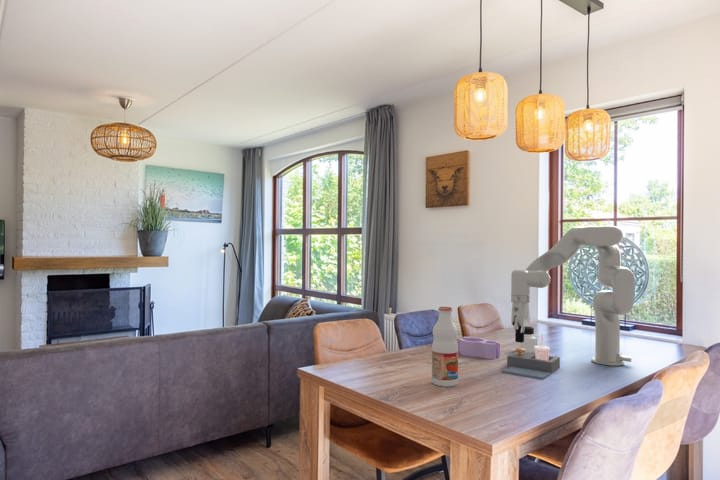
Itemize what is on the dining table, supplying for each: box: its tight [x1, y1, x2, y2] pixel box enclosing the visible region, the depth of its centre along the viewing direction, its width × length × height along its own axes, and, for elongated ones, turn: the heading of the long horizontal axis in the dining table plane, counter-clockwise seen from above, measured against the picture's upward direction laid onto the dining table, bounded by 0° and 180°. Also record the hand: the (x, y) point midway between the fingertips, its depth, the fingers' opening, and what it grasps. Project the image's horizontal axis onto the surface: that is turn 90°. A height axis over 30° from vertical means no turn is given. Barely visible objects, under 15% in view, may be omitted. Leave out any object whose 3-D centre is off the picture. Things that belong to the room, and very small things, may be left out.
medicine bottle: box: [517, 325, 538, 354], centre depth 228 cm, size 7×7×12 cm
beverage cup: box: [534, 334, 551, 361], centre depth 195 cm, size 6×6×14 cm
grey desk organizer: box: [506, 351, 561, 375], centre depth 197 cm, size 18×12×4 cm, turn 52°
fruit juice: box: [431, 306, 459, 388], centre depth 173 cm, size 9×9×28 cm
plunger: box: [514, 347, 525, 355], centre depth 201 cm, size 4×4×5 cm
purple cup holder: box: [456, 336, 501, 360], centre depth 220 cm, size 20×12×7 cm, turn 46°
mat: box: [502, 366, 552, 380], centre depth 187 cm, size 16×9×1 cm, turn 52°
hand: (519, 341), depth 201 cm, fingers closed
